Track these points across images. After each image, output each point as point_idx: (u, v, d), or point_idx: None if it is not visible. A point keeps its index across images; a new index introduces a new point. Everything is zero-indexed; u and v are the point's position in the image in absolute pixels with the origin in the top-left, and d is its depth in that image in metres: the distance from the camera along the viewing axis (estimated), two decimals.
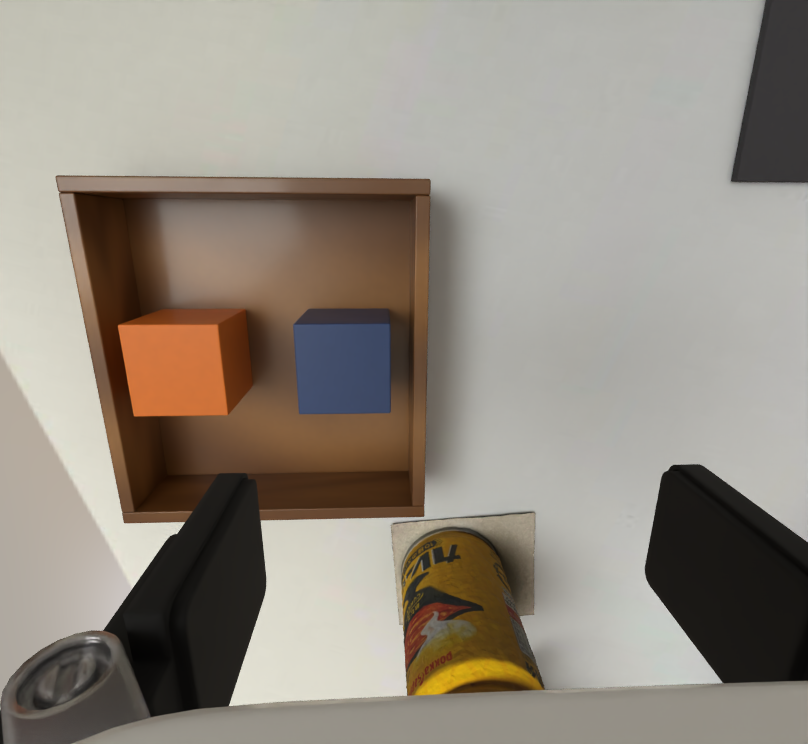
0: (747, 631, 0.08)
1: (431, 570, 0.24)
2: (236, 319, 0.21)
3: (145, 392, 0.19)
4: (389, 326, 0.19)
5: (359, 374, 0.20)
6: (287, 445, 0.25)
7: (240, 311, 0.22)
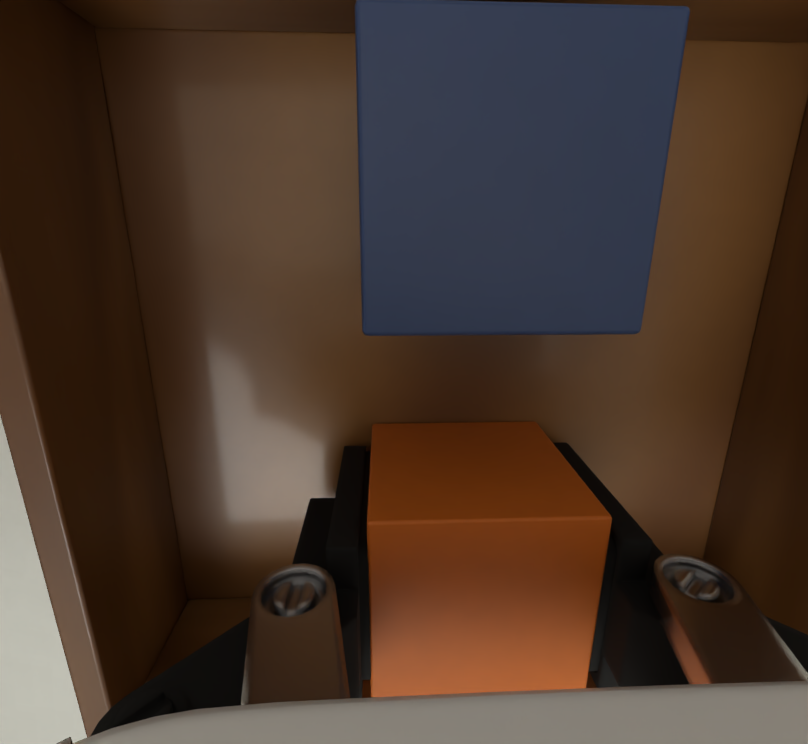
0: None
1: None
2: (383, 453, 0.10)
3: (529, 676, 0.08)
4: (365, 1, 0.05)
5: (534, 124, 0.06)
6: (681, 359, 0.11)
7: (372, 437, 0.10)
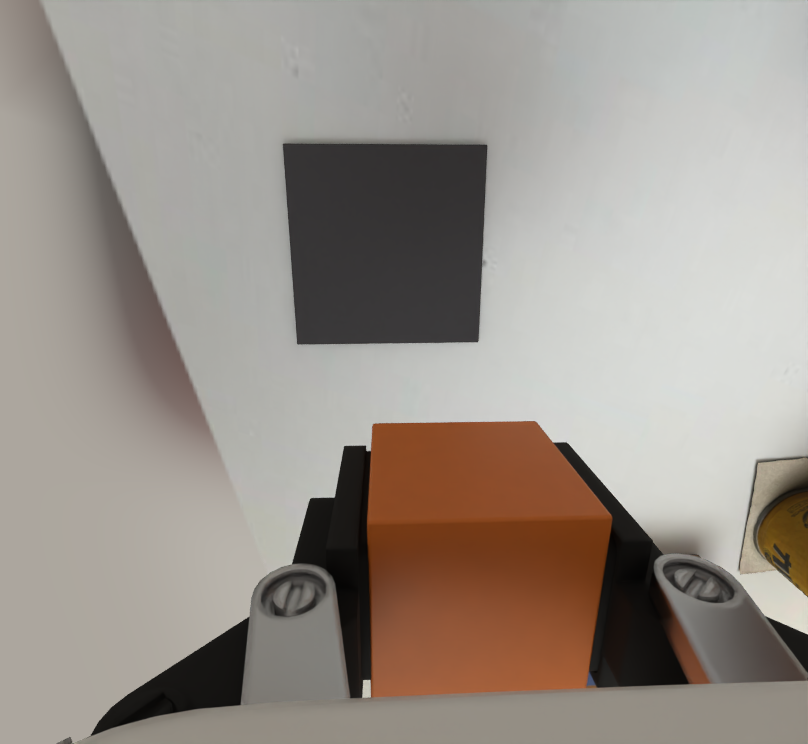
0: None
1: (795, 581, 0.28)
2: (383, 452, 0.10)
3: (529, 676, 0.08)
4: None
5: None
6: None
7: (372, 437, 0.10)
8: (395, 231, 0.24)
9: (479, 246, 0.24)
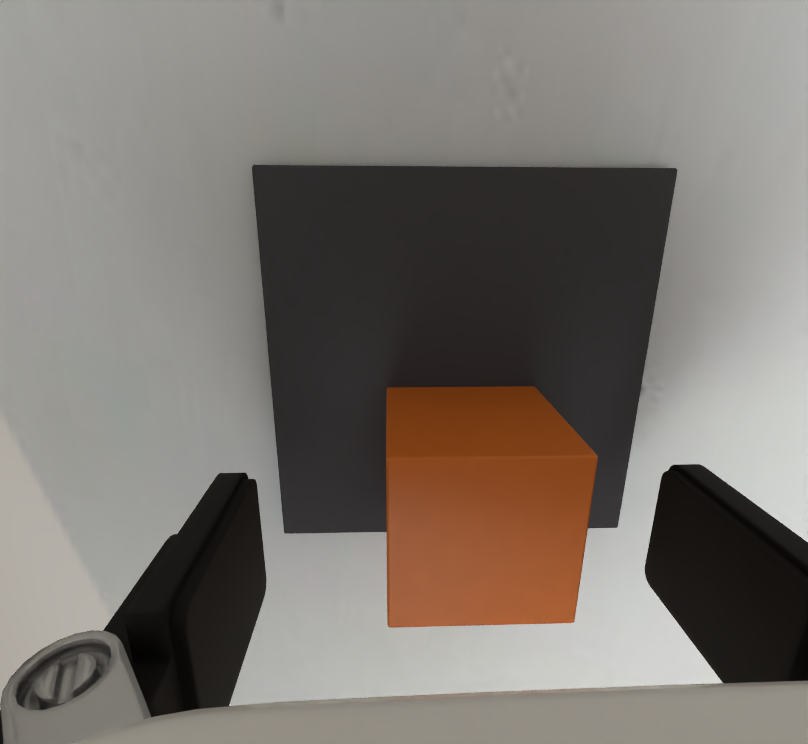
0: (748, 631, 0.08)
1: None
2: (397, 409, 0.11)
3: (526, 600, 0.10)
4: None
5: None
6: None
7: (387, 398, 0.12)
8: (478, 338, 0.12)
9: (638, 364, 0.12)
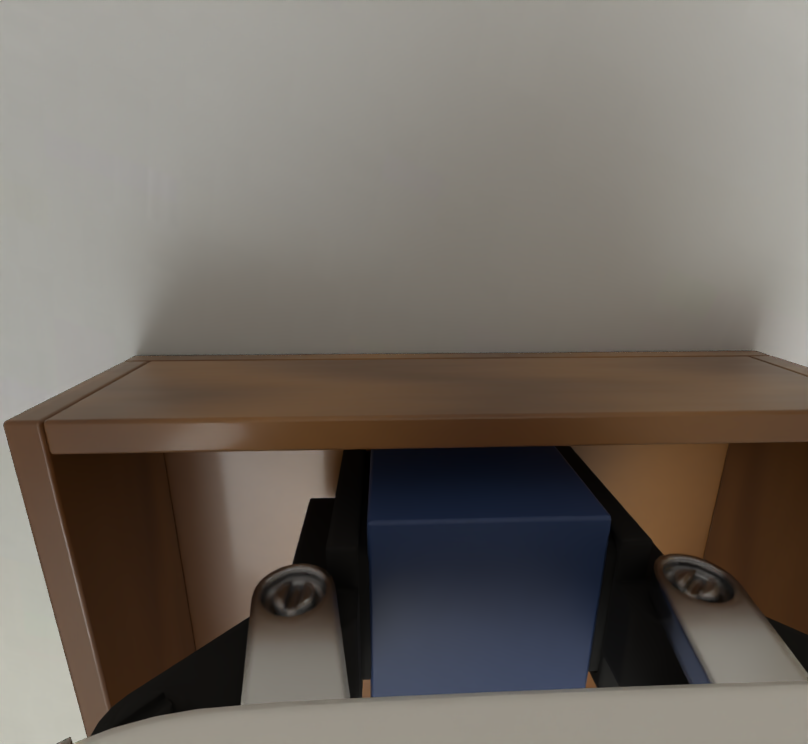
0: None
1: None
2: None
3: None
4: (374, 523, 0.07)
5: (499, 586, 0.08)
6: None
7: None
8: None
9: None
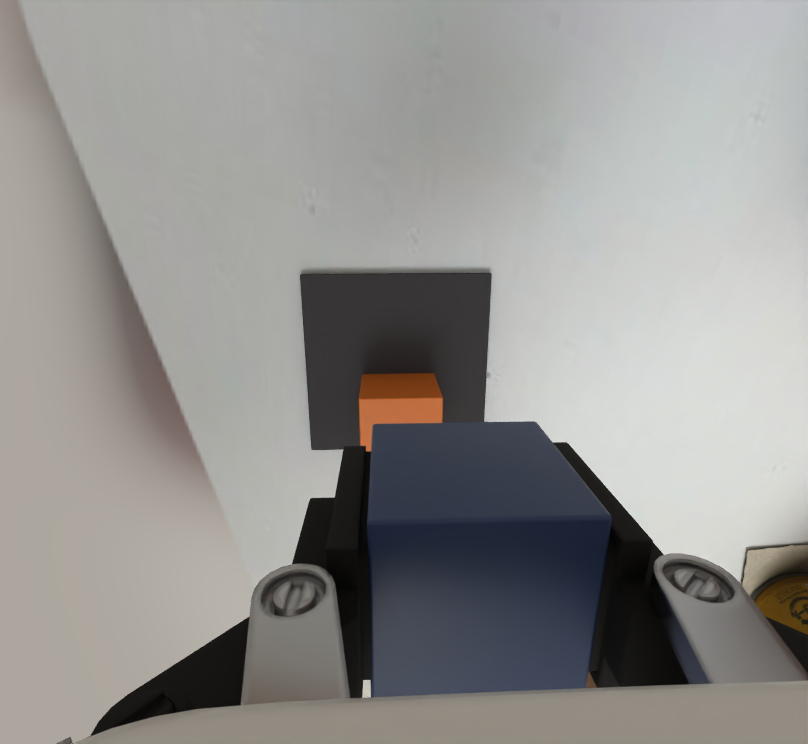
0: None
1: None
2: (365, 382, 0.24)
3: None
4: (375, 523, 0.07)
5: (499, 586, 0.08)
6: None
7: None
8: (405, 350, 0.25)
9: (483, 362, 0.26)
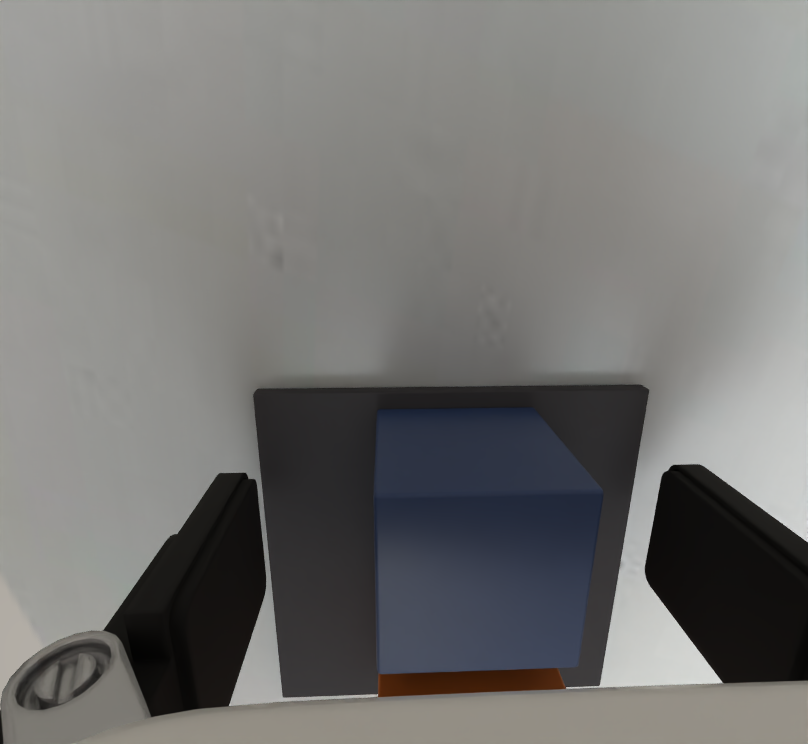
0: (747, 631, 0.08)
1: None
2: None
3: None
4: (380, 496, 0.08)
5: (497, 557, 0.08)
6: None
7: None
8: None
9: (616, 550, 0.13)
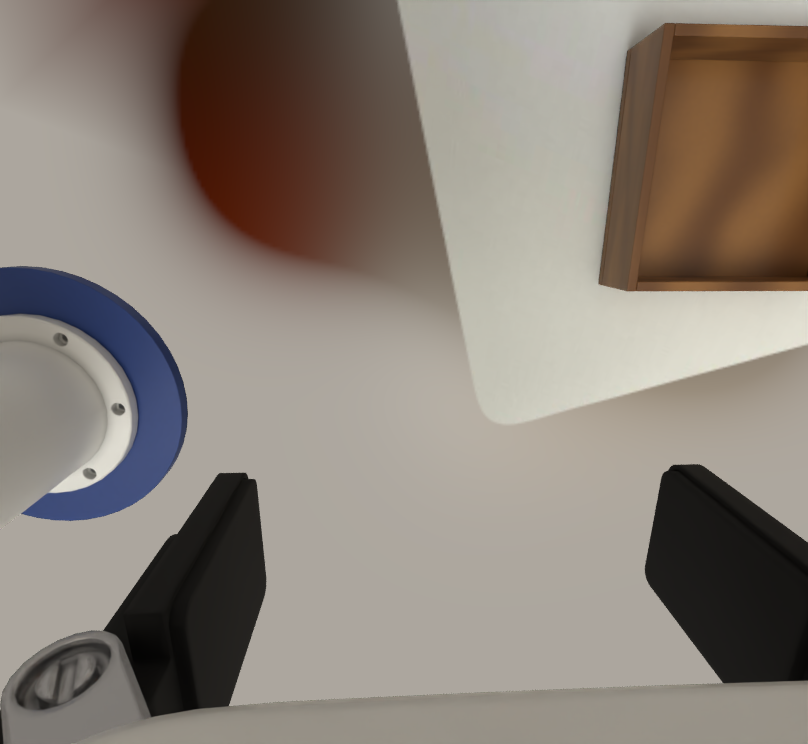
0: (748, 631, 0.08)
1: None
2: None
3: None
4: None
5: None
6: (807, 175, 0.31)
7: None
8: None
9: None
